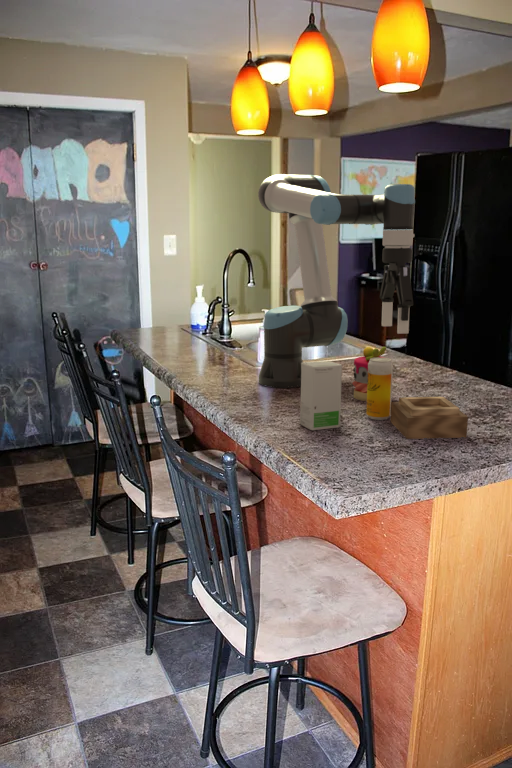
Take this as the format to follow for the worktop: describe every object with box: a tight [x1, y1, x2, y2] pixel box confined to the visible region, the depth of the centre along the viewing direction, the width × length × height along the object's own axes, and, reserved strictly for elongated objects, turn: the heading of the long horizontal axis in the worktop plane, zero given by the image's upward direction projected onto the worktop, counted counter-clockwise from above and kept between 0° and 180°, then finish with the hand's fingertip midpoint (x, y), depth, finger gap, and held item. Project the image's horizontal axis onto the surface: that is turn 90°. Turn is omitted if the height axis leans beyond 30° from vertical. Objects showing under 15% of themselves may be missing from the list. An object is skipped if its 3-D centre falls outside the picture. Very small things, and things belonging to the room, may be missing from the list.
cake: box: [351, 346, 387, 402], centre depth 185 cm, size 10×11×15 cm
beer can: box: [365, 356, 394, 421], centre depth 166 cm, size 6×6×15 cm
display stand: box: [389, 396, 469, 440], centre depth 157 cm, size 14×14×6 cm
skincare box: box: [299, 360, 343, 431], centre depth 159 cm, size 8×7×16 cm
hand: (394, 329), depth 173 cm, fingers open, 13 cm apart
